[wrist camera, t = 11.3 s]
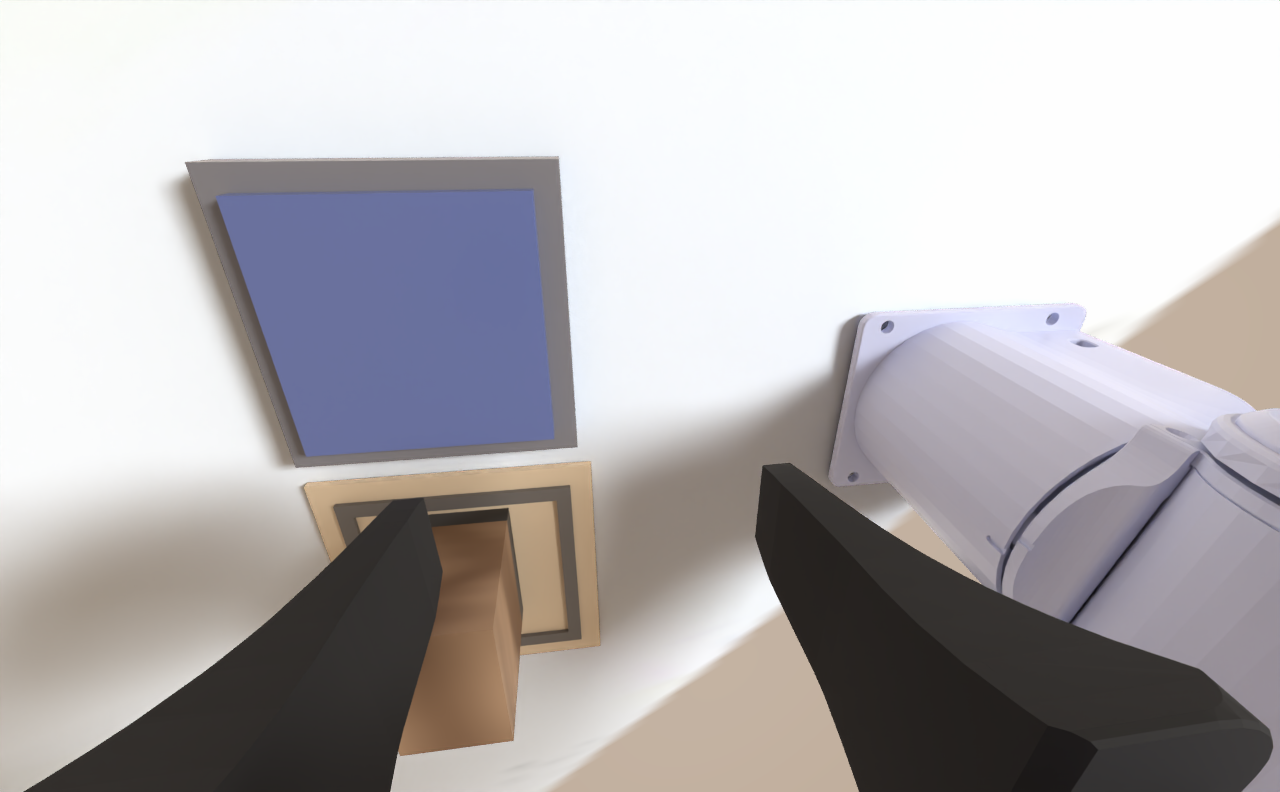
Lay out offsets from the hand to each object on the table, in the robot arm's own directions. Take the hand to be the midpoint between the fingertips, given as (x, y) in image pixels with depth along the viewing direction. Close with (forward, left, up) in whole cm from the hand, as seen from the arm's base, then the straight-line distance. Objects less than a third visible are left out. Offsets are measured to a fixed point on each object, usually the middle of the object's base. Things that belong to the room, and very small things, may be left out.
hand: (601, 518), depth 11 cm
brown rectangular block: (+6, +10, -9) cm, 14 cm away
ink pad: (+6, -2, -9) cm, 11 cm away
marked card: (+5, +10, -9) cm, 15 cm away
